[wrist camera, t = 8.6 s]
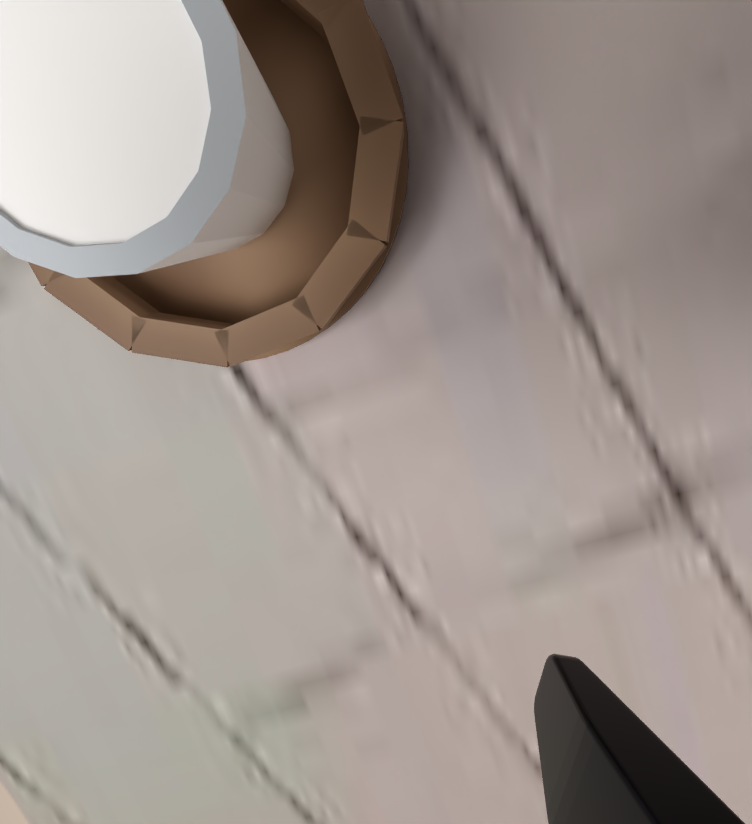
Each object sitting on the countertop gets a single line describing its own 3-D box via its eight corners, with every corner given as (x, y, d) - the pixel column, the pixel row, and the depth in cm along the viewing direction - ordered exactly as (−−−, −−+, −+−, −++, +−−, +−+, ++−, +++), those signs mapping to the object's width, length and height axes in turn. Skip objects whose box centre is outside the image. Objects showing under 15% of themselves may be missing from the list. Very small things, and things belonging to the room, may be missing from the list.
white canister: (104, 256, 17) (-89, 255, 11) (97, 19, 15) (-147, -168, 9) (303, 284, 17) (235, 301, 10) (324, 47, 15) (254, -120, 8)
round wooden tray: (441, -45, 15) (446, -94, 13) (377, 383, 19) (373, 399, 17) (10, -102, 15) (-54, -160, 13) (34, 329, 19) (-12, 338, 17)
